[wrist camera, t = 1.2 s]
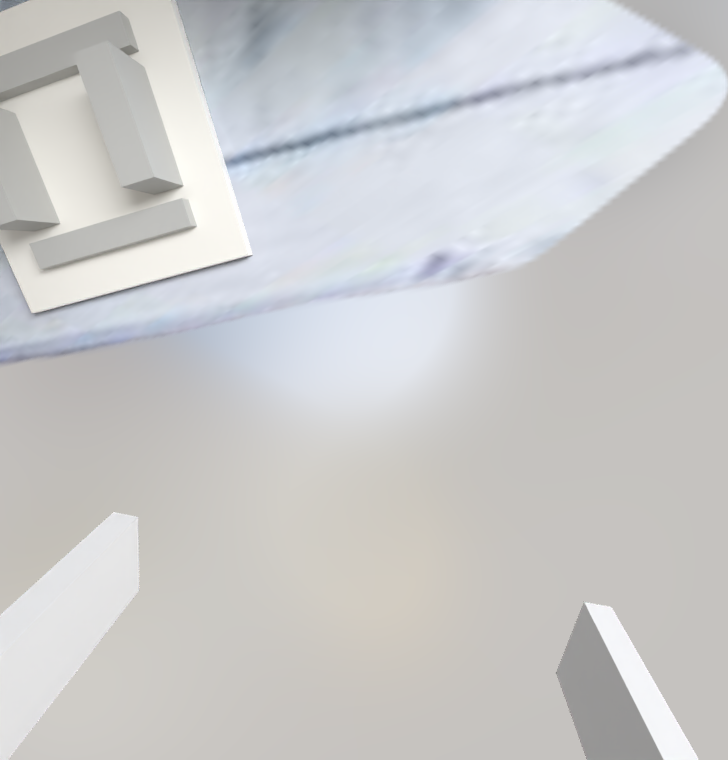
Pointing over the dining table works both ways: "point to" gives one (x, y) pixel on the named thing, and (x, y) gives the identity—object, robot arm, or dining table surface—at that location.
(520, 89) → the dining table surface
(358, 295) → the dining table surface
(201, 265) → the slot plate
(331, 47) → the dining table surface
